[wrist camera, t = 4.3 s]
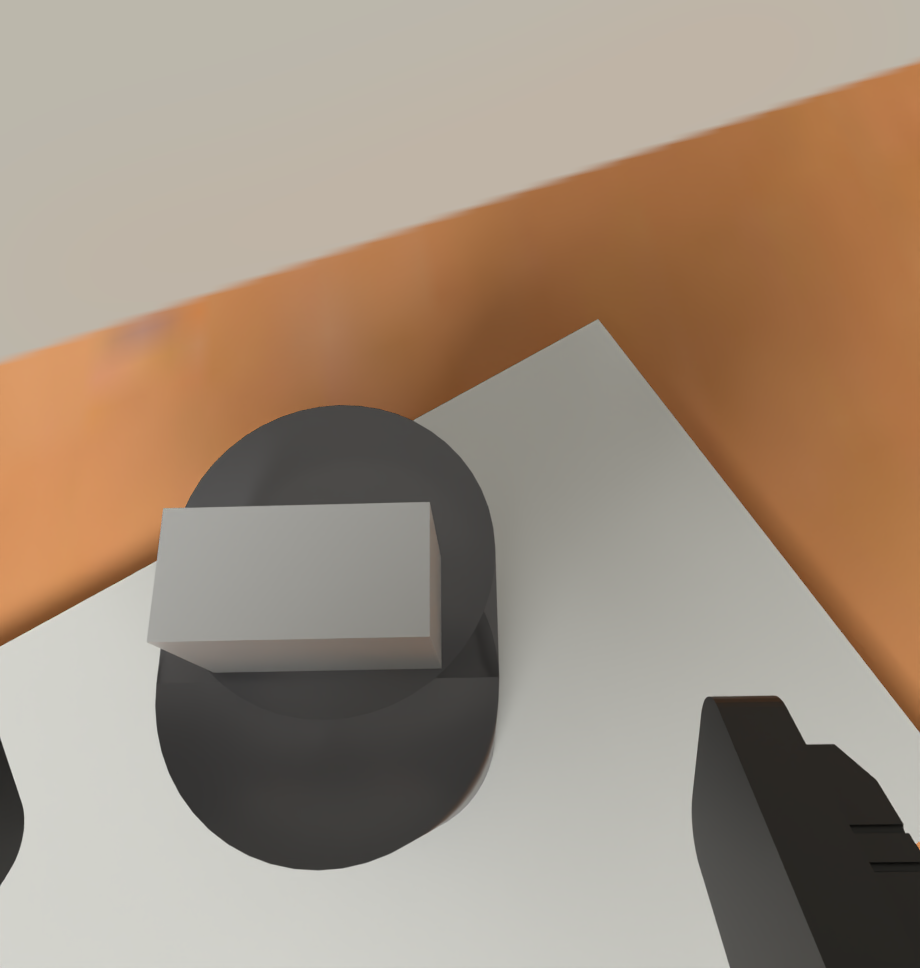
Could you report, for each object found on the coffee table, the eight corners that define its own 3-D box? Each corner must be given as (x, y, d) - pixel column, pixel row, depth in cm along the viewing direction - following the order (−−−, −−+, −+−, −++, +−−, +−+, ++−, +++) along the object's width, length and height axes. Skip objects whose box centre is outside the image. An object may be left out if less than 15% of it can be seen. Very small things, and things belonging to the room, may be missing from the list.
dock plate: (78, 1420, 13) (39, 1478, 12) (-129, 744, 17) (-173, 741, 16) (939, 801, 16) (973, 801, 15) (592, 346, 20) (598, 319, 19)
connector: (497, 834, 15) (509, 888, 6) (301, 837, 15) (38, 893, 6) (490, 568, 17) (491, 316, 8) (315, 572, 17) (126, 327, 8)
